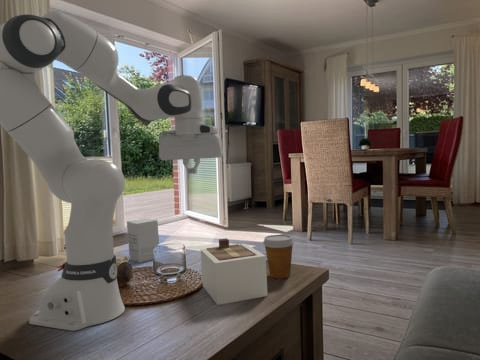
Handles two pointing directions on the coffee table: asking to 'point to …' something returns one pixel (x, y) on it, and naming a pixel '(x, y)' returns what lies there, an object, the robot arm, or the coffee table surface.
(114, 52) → the robot arm
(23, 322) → the coffee table surface
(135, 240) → the supplement box
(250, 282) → the box
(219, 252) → the lid
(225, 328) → the coffee table surface
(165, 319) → the coffee table surface
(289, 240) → the disposable coffee cup
